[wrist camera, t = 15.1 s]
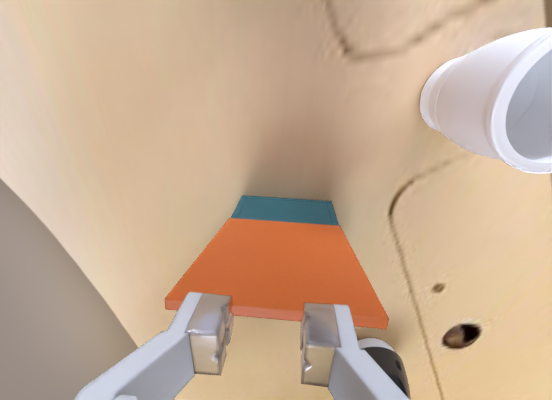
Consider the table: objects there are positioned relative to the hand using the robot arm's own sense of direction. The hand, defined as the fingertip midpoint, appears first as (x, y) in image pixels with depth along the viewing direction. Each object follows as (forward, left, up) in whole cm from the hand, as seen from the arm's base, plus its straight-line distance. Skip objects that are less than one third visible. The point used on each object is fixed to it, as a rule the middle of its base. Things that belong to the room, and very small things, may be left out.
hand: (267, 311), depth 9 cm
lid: (+7, 0, -13) cm, 15 cm away
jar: (-7, +20, -29) cm, 36 cm away
